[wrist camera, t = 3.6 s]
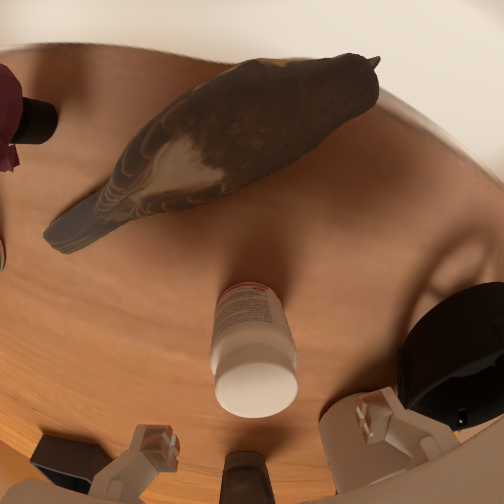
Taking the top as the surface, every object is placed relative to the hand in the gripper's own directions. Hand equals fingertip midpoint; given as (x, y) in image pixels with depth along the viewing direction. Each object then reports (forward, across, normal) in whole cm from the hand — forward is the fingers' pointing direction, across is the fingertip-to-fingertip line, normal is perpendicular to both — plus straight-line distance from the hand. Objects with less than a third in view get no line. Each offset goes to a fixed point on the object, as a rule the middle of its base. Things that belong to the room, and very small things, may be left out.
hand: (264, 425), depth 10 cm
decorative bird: (+11, +2, -13) cm, 17 cm away
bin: (+10, +27, +22) cm, 36 cm away
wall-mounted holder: (+11, -20, +5) cm, 23 cm away
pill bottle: (+11, 0, 0) cm, 11 cm away
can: (+11, -8, +14) cm, 19 cm away
